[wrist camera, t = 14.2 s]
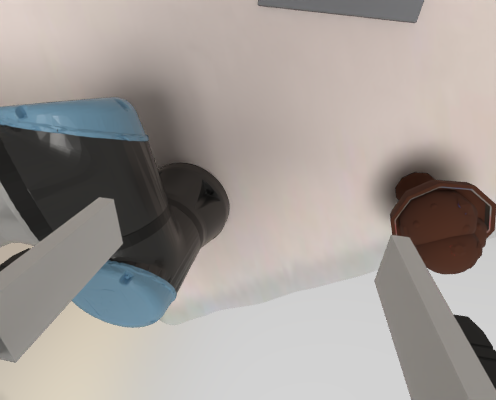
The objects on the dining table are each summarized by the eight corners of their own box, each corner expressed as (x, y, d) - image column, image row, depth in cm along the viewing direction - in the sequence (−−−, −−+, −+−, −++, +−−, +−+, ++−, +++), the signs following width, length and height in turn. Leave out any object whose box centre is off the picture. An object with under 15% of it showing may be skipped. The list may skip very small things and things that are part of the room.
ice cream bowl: (471, 200, 40) (545, 273, 28) (392, 230, 45) (424, 305, 32) (443, 139, 37) (513, 189, 24) (362, 178, 42) (384, 238, 29)
